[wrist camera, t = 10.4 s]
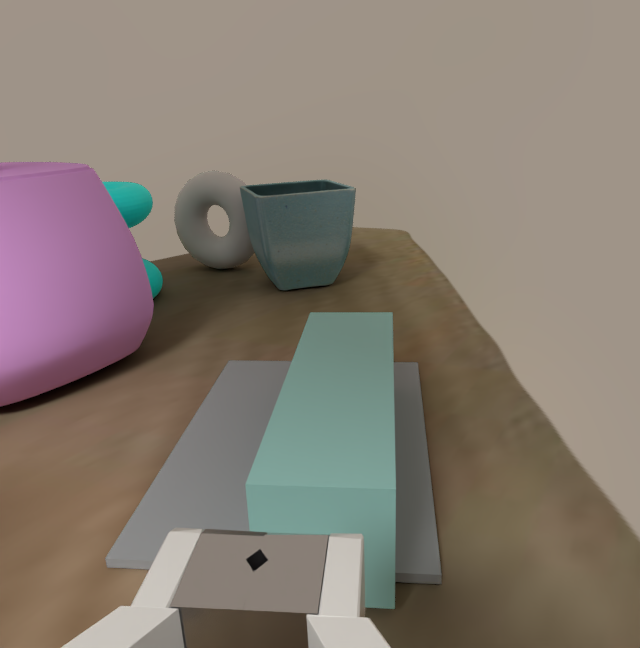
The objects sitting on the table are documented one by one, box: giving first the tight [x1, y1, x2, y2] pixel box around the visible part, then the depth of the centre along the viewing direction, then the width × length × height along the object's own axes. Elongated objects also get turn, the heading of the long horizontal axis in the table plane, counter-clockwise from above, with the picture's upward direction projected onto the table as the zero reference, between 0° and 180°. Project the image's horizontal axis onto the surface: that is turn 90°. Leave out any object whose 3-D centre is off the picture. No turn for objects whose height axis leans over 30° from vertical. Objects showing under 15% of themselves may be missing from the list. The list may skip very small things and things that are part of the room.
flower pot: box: [240, 180, 356, 290], centre depth 55 cm, size 9×9×9 cm
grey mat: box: [105, 360, 442, 584], centre depth 30 cm, size 18×12×1 cm, turn 174°
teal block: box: [245, 312, 396, 609], centre depth 26 cm, size 4×4×16 cm
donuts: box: [102, 182, 163, 298], centre depth 52 cm, size 10×10×10 cm
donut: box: [175, 171, 255, 269], centre depth 61 cm, size 10×4×10 cm, turn 67°
